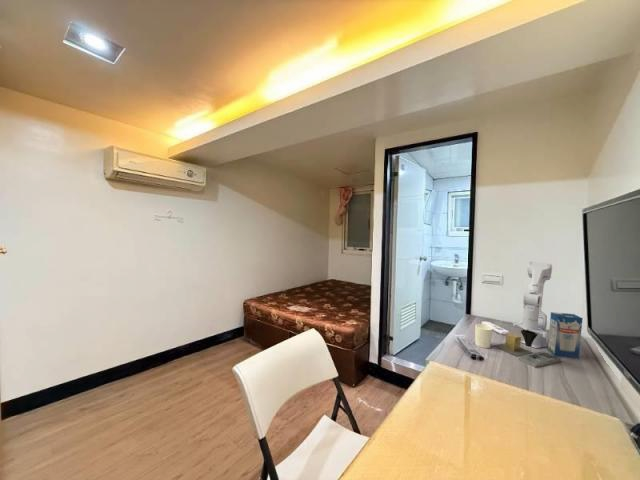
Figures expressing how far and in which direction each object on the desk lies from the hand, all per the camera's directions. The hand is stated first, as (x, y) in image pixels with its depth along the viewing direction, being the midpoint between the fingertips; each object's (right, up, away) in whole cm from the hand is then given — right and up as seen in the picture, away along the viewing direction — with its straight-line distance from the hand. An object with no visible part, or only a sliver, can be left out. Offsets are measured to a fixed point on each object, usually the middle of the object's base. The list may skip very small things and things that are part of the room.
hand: (528, 345), depth 131 cm
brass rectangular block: (-3, -4, +7) cm, 9 cm away
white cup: (-16, -4, +11) cm, 20 cm away
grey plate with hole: (+2, -6, -4) cm, 7 cm away
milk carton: (+20, -6, +4) cm, 21 cm away
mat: (-3, -5, +7) cm, 9 cm away
